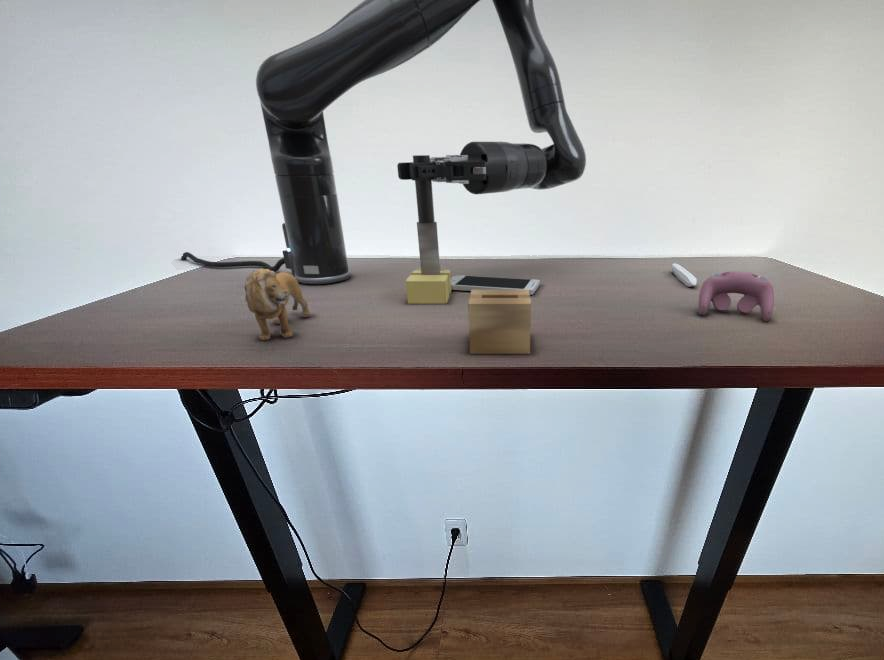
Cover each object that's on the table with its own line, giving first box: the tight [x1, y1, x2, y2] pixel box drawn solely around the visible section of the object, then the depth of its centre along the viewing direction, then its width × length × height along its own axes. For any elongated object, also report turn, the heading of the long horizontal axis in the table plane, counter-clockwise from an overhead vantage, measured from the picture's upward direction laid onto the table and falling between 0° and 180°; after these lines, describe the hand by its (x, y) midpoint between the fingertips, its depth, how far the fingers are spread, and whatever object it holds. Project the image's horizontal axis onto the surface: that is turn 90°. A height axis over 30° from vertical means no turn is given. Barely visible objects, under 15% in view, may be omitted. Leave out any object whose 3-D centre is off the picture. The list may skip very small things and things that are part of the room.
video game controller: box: [698, 270, 775, 322], centre depth 69 cm, size 10×5×7 cm, turn 71°
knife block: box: [467, 290, 532, 355], centre depth 57 cm, size 7×6×6 cm
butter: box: [405, 269, 452, 305], centre depth 76 cm, size 6×7×4 cm
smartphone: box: [451, 274, 541, 296], centre depth 82 cm, size 7×15×1 cm, turn 77°
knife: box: [412, 154, 441, 275], centre depth 73 cm, size 3×2×17 cm
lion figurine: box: [244, 268, 311, 341], centre depth 61 cm, size 15×5×9 cm, turn 13°
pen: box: [671, 263, 698, 288], centre depth 88 cm, size 2×14×2 cm, turn 178°
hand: (405, 171), depth 68 cm, fingers closed on knife, 2 cm apart
